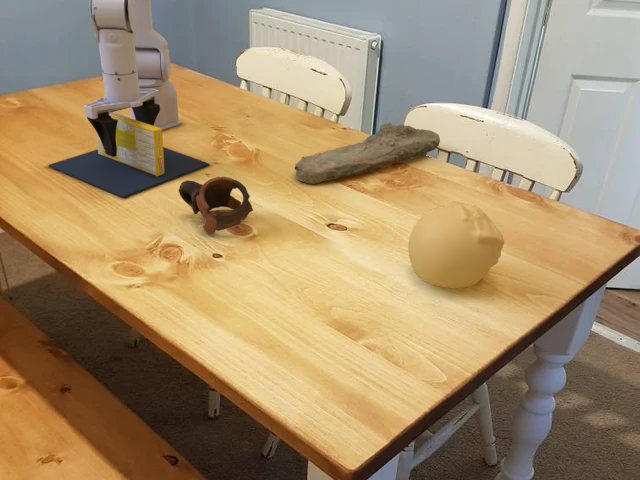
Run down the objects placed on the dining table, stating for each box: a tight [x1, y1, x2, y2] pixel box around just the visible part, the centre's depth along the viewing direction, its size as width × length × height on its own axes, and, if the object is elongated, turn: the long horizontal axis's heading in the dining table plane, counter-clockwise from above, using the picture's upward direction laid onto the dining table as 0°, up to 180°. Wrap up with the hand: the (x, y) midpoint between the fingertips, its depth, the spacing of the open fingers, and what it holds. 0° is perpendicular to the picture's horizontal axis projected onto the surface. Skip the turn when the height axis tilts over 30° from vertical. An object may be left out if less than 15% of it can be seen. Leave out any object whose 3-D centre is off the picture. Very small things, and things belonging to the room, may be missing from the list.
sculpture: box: [407, 200, 505, 289], centre depth 94 cm, size 12×12×11 cm
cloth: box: [48, 146, 210, 199], centre depth 124 cm, size 20×20×1 cm
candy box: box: [95, 112, 164, 177], centre depth 122 cm, size 16×2×8 cm, turn 53°
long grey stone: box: [294, 122, 441, 185], centre depth 130 cm, size 35×5×10 cm
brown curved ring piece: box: [178, 176, 254, 236], centre depth 106 cm, size 12×10×8 cm
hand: (128, 149), depth 123 cm, fingers open, 7 cm apart
